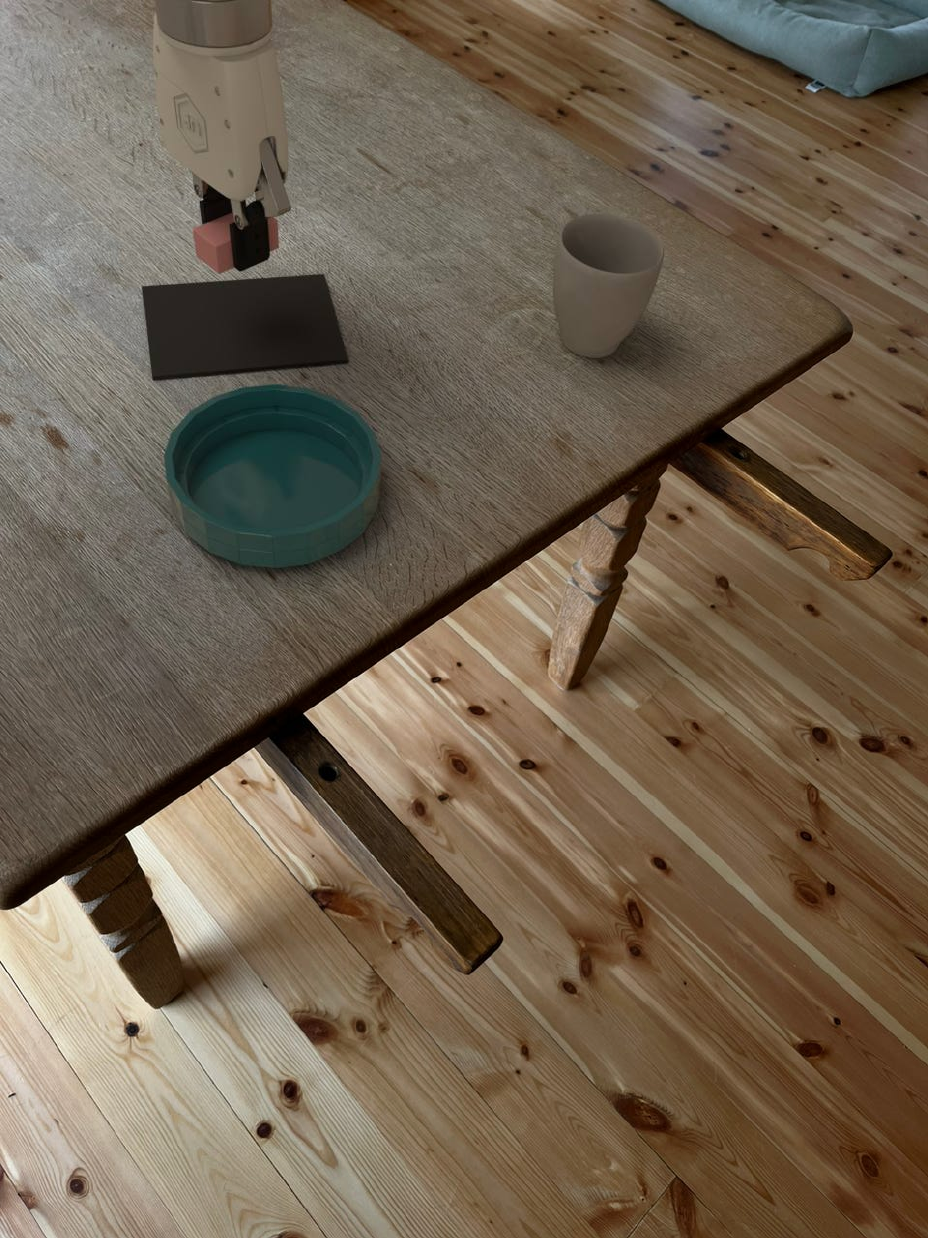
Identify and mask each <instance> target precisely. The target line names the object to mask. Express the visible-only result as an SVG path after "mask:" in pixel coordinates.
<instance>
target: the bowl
mask: <svg viewBox="0 0 928 1238" xmlns="http://www.w3.org/2000/svg"><path fill="white" fill-rule="evenodd" d="M377 439H378V438H377V435H376V434H375V431H373V429H372V428H371V426H370V425H369V424H368V423H367V421H366V420H365V419H364V417H363V416H362V415H361V414H360V413H359V412H358V411H357V410H354V409H353V408H352V407H350V406H349V405H347V404H346V403H345V402H343V401H342V400H341V399H338V398H337V397H335V396H332V395H329V394H326V393H323V392H321V391H318V390H315V389H312V388H308V387H303V386H295V385H287V384H278V383H277V384H275V383H274V384H262V385H251V386H244V387H243V386H242V387H239V388H236V389H234V390H230V391H227V392H224V393H221V394H217V395H215V396H212V397H211V398H209V399H208V400H206V401H204V402H203V403H201V404H199V405H198V406H196V407H195V408H193V409H192V410H190V411H189V412H188V413H187V414H185V416H184V417H183V419H182V420H181V421H180V422H179V423H178V425H176V427H175V428H174V429H173V430H172V431H171V433H170V436H169V439H168V441H167V445H166V448H165V451H164V454H163V461H164V469H165V471H164V472H165V479H166V483H167V488H168V494H169V498H170V505H171V509H172V513H173V515H174V517H175V518H176V519H177V521H178V523H179V524H180V526H181V528H182V529H183V531H184V533H185V534H186V535H187V537H189V538H191V539H192V540H193V541H194V542H196V543H197V544H198V545H199V546H201V547H202V548H203V549H204V550H206V551H207V552H208V553H210V554H212V555H215V556H217V557H220V558H222V559H226V560H228V561H231V562H233V563H236V564H238V565H243V566H253V567H261V568H272V569H273V568H274V569H279V568H286V567H287V568H288V567H295V566H301V565H309V564H312V563H314V562H317V561H319V560H321V559H324V558H326V557H329V556H332V555H335V554H337V553H339V552H341V551H342V550H344V549H345V548H346V547H347V546H348V545H350V544H351V543H352V542H354V541H355V540H356V539H358V538H359V537H360V536H361V535H362V534H363V533H364V532H365V531H366V529H367V527H368V525H370V523H371V521H372V519H373V518H374V516H375V514H376V513H377V511H378V504H379V498H380V491H381V476H382V474H381V473H382V453H381V449H380V446H379V443H378V440H377Z"/></svg>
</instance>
